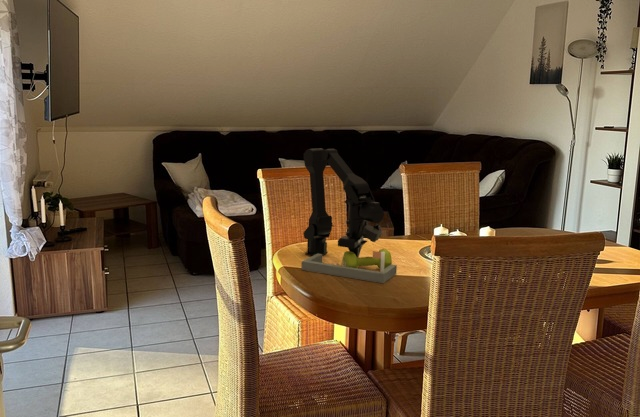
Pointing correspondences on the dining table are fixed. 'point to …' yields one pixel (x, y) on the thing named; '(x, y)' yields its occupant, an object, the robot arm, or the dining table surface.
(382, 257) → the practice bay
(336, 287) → the dining table surface
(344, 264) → the dumbbell
